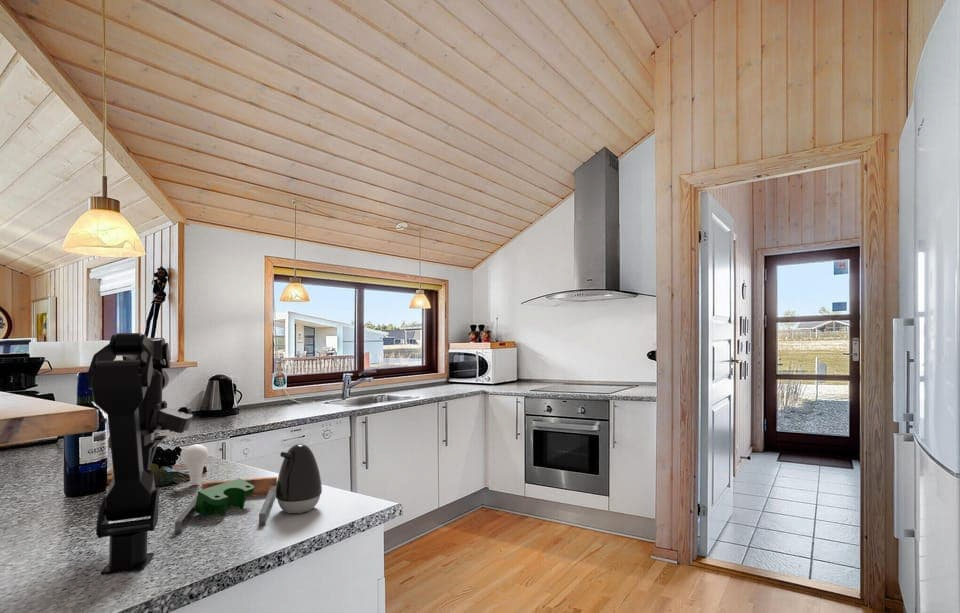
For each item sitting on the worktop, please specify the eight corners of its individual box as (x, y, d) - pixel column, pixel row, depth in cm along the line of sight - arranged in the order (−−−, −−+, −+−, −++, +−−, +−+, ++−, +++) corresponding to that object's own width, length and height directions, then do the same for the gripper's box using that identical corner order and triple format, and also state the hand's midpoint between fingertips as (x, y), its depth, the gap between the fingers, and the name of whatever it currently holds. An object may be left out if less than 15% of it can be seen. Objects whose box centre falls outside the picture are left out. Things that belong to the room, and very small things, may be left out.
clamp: (216, 536, 120) (208, 506, 116) (199, 525, 122) (191, 495, 119) (259, 501, 129) (253, 472, 126) (243, 492, 132) (236, 464, 128)
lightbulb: (183, 483, 146) (184, 443, 146) (208, 480, 148) (209, 441, 149) (181, 489, 140) (182, 447, 141) (207, 486, 143) (208, 445, 143)
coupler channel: (264, 525, 114) (265, 506, 114) (174, 534, 110) (175, 514, 110) (277, 492, 137) (277, 476, 138) (203, 498, 133) (203, 482, 133)
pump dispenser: (265, 513, 121) (265, 446, 122) (299, 500, 131) (300, 438, 131) (297, 520, 117) (297, 451, 117) (331, 506, 126) (331, 442, 126)
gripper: (171, 402, 103) (170, 483, 102) (202, 391, 121) (201, 460, 121) (107, 404, 101) (106, 487, 100) (148, 393, 119) (147, 463, 119)
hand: (145, 473), depth 110 cm, fingers closed
